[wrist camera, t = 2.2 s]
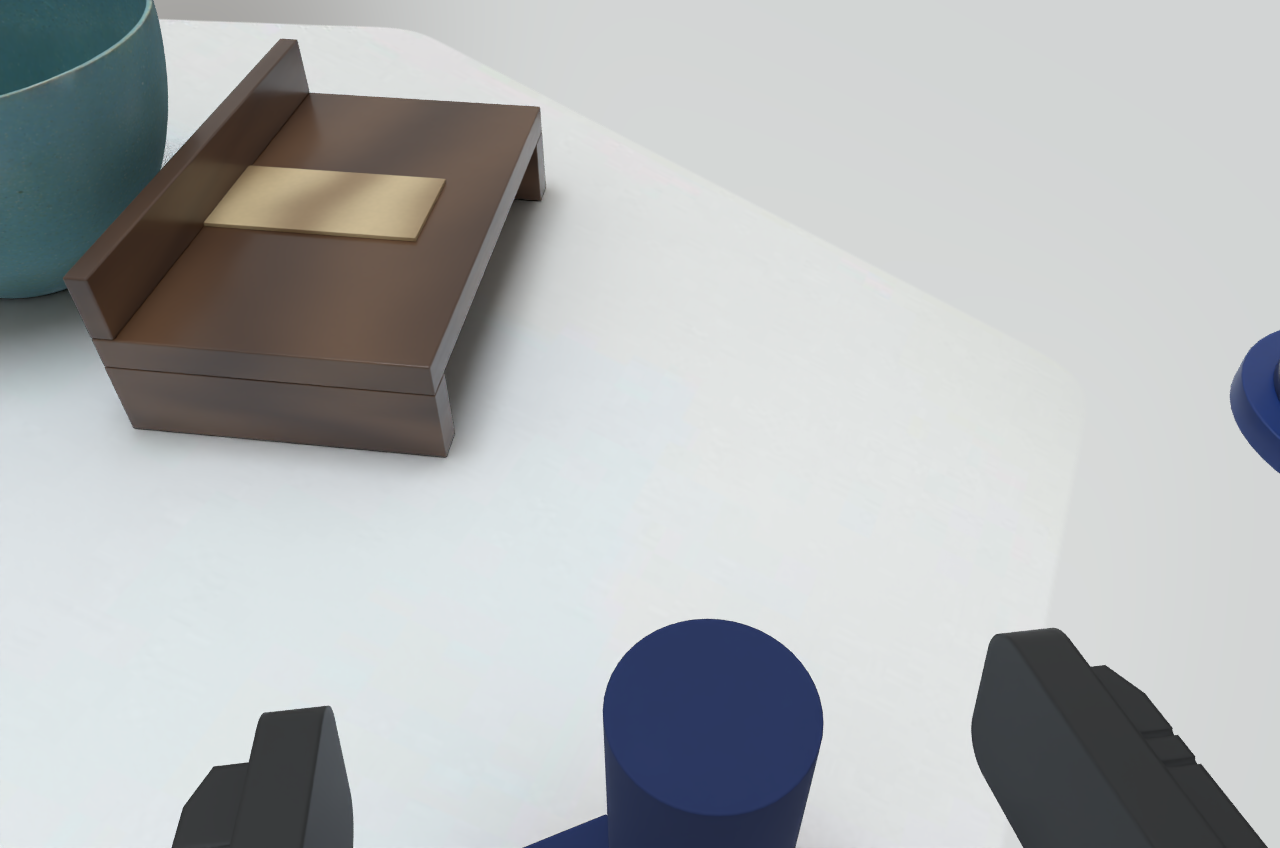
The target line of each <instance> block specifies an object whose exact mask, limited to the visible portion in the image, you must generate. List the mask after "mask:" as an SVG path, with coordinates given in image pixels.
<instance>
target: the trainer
mask: <svg viewBox="0 0 1280 848" xmlns="http://www.w3.org/2000/svg"><path fill="white" fill-rule="evenodd" d="M603 727H604V748H605V770H606V792H607V814H608V816H607V815H603V816H601V817H598V818H596V819H593V820H591V821H588V822H586V823H583V824H581V825H578V826H576V827H573V828H571V829H568V830H566V831H563V832H561V833H558V834H556V835H553V836H551V837H548V838H546V839H543V840H541V841H538V842H536V843H533V844H531V845H529V846H526V847H524V848H795V846H796V842H797V838H798V834H799V830H800V826H801V822H802V818H803V814H804V810H805V806H806V802H807V798H808V794H809V790H810V786H811V782H812V778H813V774H814V770H815V766H816V761H817V757H818V753H819V749H820V745H821V740H822V736H823V711H822V706H821V702H820V697H819V695H818V692H817V689H816V687H815V684H814V682H813V680H812V679H811V677H810V675H809V673H808V672H807V670H806V669H805V667H804V666H803V665H802V663H801V662H800V661H799V660H798V659H797V658H796V656H795V655H794V654H793V653H792V652H791V651H790V650H788V649H787V648H786V647H785V646H784V645H783V644H781V643H780V642H778V641H777V640H775V639H774V638H773V637H771V636H769V635H767V634H765V633H764V632H762V631H760V630H757V629H755V628H752V627H750V626H747V625H744V624H740V623H737V622H733V621H726V620H720V619H696V620H689V621H683V622H678V623H675V624H672V625H668V626H666V627H663V628H661V629H659V630H656V631H655V632H653V633H651V634H649V635H648V636H646V637H644V638H643V639H642V640H640V641H639V642H638V643H636V644H635V645H634V646H633V647H632V648H631V649H630V650H629V651H628V652H627V653H626V654H625V655H624V657H623V658H622V659H621V660H620V662H619V663H618V664H617V666H616V668H615V670H614V671H613V673H612V675H611V677H610V680H609V682H608V685H607V688H606V692H605V696H604V704H603Z"/></svg>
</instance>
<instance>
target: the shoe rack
mask: <svg viewBox="0 0 1280 848" xmlns="http://www.w3.org/2000/svg"><path fill="white" fill-rule="evenodd" d="M541 131H542V128H541V114H540V107H534V106H518V105H501V104H485V103H469V102H452V101H436V100H419V99H403V98H387V97H370V96H354V95H337V94H321V93H309V88H308V83H307V79H306V75H305V71H304V66H303V62H302V58H301V54H300V49H299V45H298V41H297V40H293V39H280V40H279V41H278V42H277V43H276V44H275V45H274V46H273V47H272V48H271V50H270V51H269V52H268V53H267V54H266V55H265V56H264V57H263V58H262V59H261V60H260V62H259V63H258V64H257V65H256V66H255V67H254V68H253V69H252V70H251V71H250V73H249V74H248V75H247V76H246V77H245V78H244V79H243V80H242V81H241V82H240V84H239V85H238V86H237V87H236V88H235V89H234V90H233V91H232V92H231V93H230V95H229V96H228V97H227V98H226V99H225V100H224V101H223V102H222V103H221V104H220V105H219V107H218V108H217V109H216V110H215V111H214V112H213V113H212V114H211V115H210V116H209V118H208V119H207V120H206V121H205V122H204V123H203V124H202V125H201V126H200V127H199V129H198V130H197V131H196V132H195V133H194V134H193V135H192V136H191V137H190V138H189V139H188V141H187V142H186V143H185V144H184V145H183V146H182V147H181V148H180V149H179V150H178V152H177V153H176V154H175V155H174V156H173V157H172V158H171V159H170V160H169V161H168V163H167V164H166V165H165V166H164V167H163V168H162V169H161V170H160V171H159V172H158V173H157V175H156V176H155V177H154V178H153V179H152V180H151V181H150V182H149V183H148V184H147V186H146V187H145V188H144V189H143V190H142V191H141V192H140V193H139V194H138V195H137V197H136V198H135V199H134V200H133V201H132V202H131V203H130V204H129V205H128V206H127V208H126V209H125V210H124V211H123V212H122V213H121V214H120V215H119V216H118V217H117V218H116V220H115V221H114V222H113V223H112V224H111V225H110V226H109V227H108V228H107V229H106V231H105V232H104V233H103V234H102V235H101V236H100V237H99V238H98V239H97V240H96V242H95V243H94V244H93V245H92V246H91V247H90V248H89V249H88V250H87V251H86V252H85V254H84V255H83V256H82V257H81V258H80V259H79V260H78V261H77V262H76V263H75V265H74V266H73V267H72V268H71V269H70V270H69V271H68V272H67V273H66V274H65V276H64V277H63V280H64V282H65V285H66V287H67V289H68V291H69V293H70V295H71V297H72V299H73V301H74V303H75V305H76V308H77V310H78V312H79V314H80V316H81V318H82V320H83V322H84V324H85V326H86V329H87V331H88V333H89V335H90V337H91V338H92V341H93V343H94V345H95V347H96V350H97V352H98V354H99V356H100V358H101V360H102V362H103V364H104V366H105V369H106V371H107V374H108V376H109V378H110V380H111V382H112V384H113V386H114V388H115V390H116V392H117V394H118V397H119V399H120V401H121V403H122V405H123V407H124V409H125V411H126V413H127V415H128V417H129V420H130V422H131V424H132V426H133V428H139V429H150V430H161V431H171V432H182V433H193V434H203V435H214V436H225V437H236V438H246V439H257V440H268V441H279V442H289V443H300V444H311V445H321V446H332V447H343V448H354V449H364V450H375V451H386V452H396V453H407V454H418V455H429V456H439V457H446V456H447V453H448V451H449V448H450V445H451V443H452V440H453V437H454V434H455V430H454V424H453V419H452V413H451V407H450V401H449V396H448V390H447V384H446V379H445V373H444V371H445V368H446V366H447V363H448V361H449V358H450V356H451V353H452V351H453V348H454V346H455V343H456V341H457V339H458V336H459V334H460V331H461V329H462V326H463V324H464V321H465V319H466V316H467V314H468V311H469V309H470V306H471V304H472V302H473V299H474V297H475V294H476V292H477V289H478V287H479V284H480V282H481V279H482V277H483V274H484V272H485V269H486V267H487V265H488V262H489V260H490V257H491V255H492V252H493V250H494V247H495V245H496V242H497V240H498V237H499V235H500V233H501V230H502V228H503V225H504V223H505V220H506V218H507V215H508V213H509V210H510V208H511V205H512V203H513V200H514V199H526V200H541V199H542V196H543V193H544V191H545V188H546V182H545V168H544V154H543V140H542V132H541Z"/></svg>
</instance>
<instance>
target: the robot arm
mask: <svg viewBox="0 0 1280 848" xmlns="http://www.w3.org/2000/svg"><path fill="white" fill-rule="evenodd" d="M1274 386H1275V390H1276V393H1277V396H1278V398H1279V400H1280V360H1279V362H1278V364H1277V366H1276V368H1275V371H1274ZM971 733H972V743H973V748H974V753H975V757H976V760H977V763H978V765H979V768H980V770H981V772H982V774H983V776H984V778H985V779H986V781H987V783H988V785H989V787H990V788H991V790H992V792H993V794H994V796H995V797H996V799H997V801H998V803H999V805H1000V806H1001V808H1002V810H1003V812H1004V814H1005V815H1006V817H1007V819H1008V821H1009V823H1010V824H1011V826H1012V828H1013V830H1014V831H1015V833H1016V835H1017V837H1018V839H1019V841H1020V842H1021V844H1022V846H1023V848H1268V847H1267V846H1266V845H1265V844H1264V842H1263V841H1262V840H1261V839H1260V837H1259V836H1258V835H1257V834H1256V832H1255V831H1254V830H1253V828H1252V827H1251V826H1250V825H1249V823H1248V822H1247V821H1246V820H1245V819H1244V817H1243V816H1242V815H1241V813H1239V811H1238V810H1237V809H1236V807H1235V806H1234V805H1233V803H1232V802H1231V801H1230V800H1229V799H1228V797H1227V796H1226V795H1225V794H1224V792H1223V791H1222V790H1221V788H1220V787H1219V786H1218V785H1217V783H1216V782H1215V781H1214V780H1213V778H1212V777H1211V776H1210V775H1209V773H1208V772H1207V771H1206V770H1205V768H1204V767H1203V766H1202V765H1201V764H1197V763H1196V761H1195V756H1194V754H1193V753H1192V752H1191V751H1190V750H1189V748H1188V747H1187V746H1186V745H1185V743H1184V742H1183V741H1182V739H1181V738H1180V737H1179V736H1178V735H1174V734H1173V731H1172V727H1171V726H1170V724H1169V723H1168V722H1167V721H1166V719H1165V718H1164V717H1163V716H1162V714H1161V713H1160V712H1159V711H1158V709H1157V708H1156V707H1155V706H1154V704H1153V703H1152V702H1151V701H1150V699H1149V698H1148V697H1147V695H1146V694H1145V693H1143V692H1142V691H1141V690H1139V689H1138V688H1137V687H1135V686H1134V685H1132V684H1131V683H1129V682H1128V681H1127V680H1125V679H1124V678H1123V677H1121V676H1120V675H1118V674H1117V673H1116V672H1114V671H1113V670H1111V669H1110V668H1109V667H1107V666H1106V665H1102V666H1094V667H1090V666H1089V664H1088V663H1087V662H1086V660H1085V659H1084V658H1083V656H1082V655H1081V654H1080V652H1079V651H1078V650H1077V648H1076V647H1075V646H1074V645H1073V643H1072V642H1071V641H1070V639H1069V638H1068V637H1067V636H1066V634H1064V633H1063V632H1062V631H1061V630H1059V629H1056V628H1047V629H1038V630H1029V631H1020V632H1011V633H1002V634H996V635H995V636H994V637H993V638H992V639H991V641H990V643H989V647H988V651H987V655H986V660H985V664H984V669H983V673H982V677H981V682H980V686H979V691H978V695H977V700H976V704H975V709H974V713H973V718H972V726H971ZM172 848H353V808H352V799H351V793H350V788H349V783H348V779H347V774H346V769H345V764H344V760H343V755H342V750H341V746H340V741H339V736H338V731H337V727H336V722H335V718H334V714H333V711H332V709H331V707H330V706H321V707H312V708H303V709H294V710H285V711H276V712H267V713H263V714H262V715H261V717H260V719H259V721H258V725H257V729H256V733H255V737H254V742H253V746H252V750H251V755H250V759H249V763H240V764H232V765H223V766H215V767H213V768H212V770H211V771H210V772H209V774H208V775H207V776H206V778H205V779H204V780H203V782H202V783H201V784H200V786H199V787H198V788H197V790H196V791H195V792H194V794H193V795H192V796H191V798H190V799H189V800H188V802H187V803H186V804H185V806H184V807H183V810H182V813H181V817H180V820H179V824H178V827H177V831H176V834H175V838H174V841H173V845H172Z"/></svg>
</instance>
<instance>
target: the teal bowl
mask: <svg viewBox="0 0 1280 848" xmlns="http://www.w3.org/2000/svg"><path fill="white" fill-rule="evenodd" d="M167 120H168V85H167V72H166V62H165V54H164V46H163V40H162V35H161V29H160V24H159V20H158V16H157V12H156V8H155V5H154V1H153V0H0V298H27V297H35V296H41V295H46V294H50V293H54V292H58V291H61V290H65V289H67V287H66V285H65V282H64V280H63V277H64V276H65V274H66V273H67V272H68V271H69V270H70V269H71V268H72V267H73V266H74V265H75V263H76V262H77V261H78V260H79V259H80V258H81V257H82V256H83V255H84V254H85V252H86V251H87V250H88V249H89V248H90V247H91V246H92V245H93V244H94V243H95V242H96V240H97V239H98V238H99V237H100V236H101V235H102V234H103V233H104V232H105V231H106V229H107V228H108V227H109V226H110V225H111V224H112V223H113V222H114V221H115V220H116V218H117V217H118V216H119V215H120V214H121V213H122V212H123V211H124V210H125V209H126V208H127V206H128V205H129V204H130V203H131V202H132V201H133V200H134V199H135V198H136V197H137V195H138V194H139V193H140V192H141V191H142V190H143V189H144V188H145V187H146V186H147V184H148V183H149V182H150V181H151V180H152V179H153V178H154V177H155V176H156V175H157V173H158V172H159V171H160V169H161V165H162V161H163V155H164V149H165V142H166V134H167Z"/></svg>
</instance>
